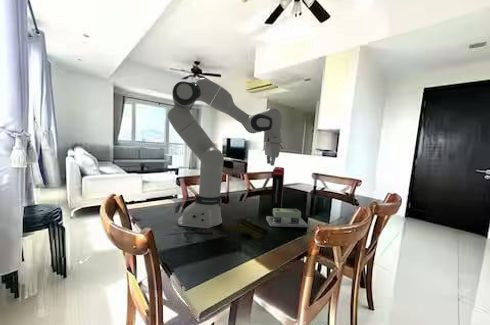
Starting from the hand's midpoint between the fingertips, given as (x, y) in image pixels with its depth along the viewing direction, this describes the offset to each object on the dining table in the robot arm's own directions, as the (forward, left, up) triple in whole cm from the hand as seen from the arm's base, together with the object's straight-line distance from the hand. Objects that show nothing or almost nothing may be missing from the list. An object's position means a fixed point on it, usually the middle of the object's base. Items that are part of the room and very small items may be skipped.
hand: (270, 164), depth 122 cm
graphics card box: (+10, +18, -31) cm, 38 cm away
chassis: (+10, -5, -31) cm, 33 cm away
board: (+10, -5, -27) cm, 29 cm away
